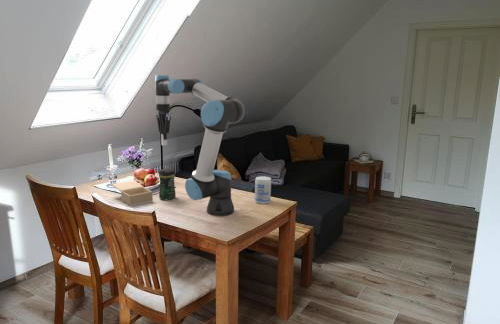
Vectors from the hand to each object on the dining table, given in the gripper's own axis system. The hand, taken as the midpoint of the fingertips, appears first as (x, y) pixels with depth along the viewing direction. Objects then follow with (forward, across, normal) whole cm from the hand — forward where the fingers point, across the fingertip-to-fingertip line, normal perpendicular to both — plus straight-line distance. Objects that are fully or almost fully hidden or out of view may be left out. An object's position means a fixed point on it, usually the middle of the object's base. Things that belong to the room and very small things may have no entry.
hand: (164, 145), depth 221 cm
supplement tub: (+35, -34, -46) cm, 67 cm away
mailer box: (+34, +13, +12) cm, 39 cm away
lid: (+27, +25, +12) cm, 39 cm away
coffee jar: (+35, +7, -5) cm, 36 cm away
